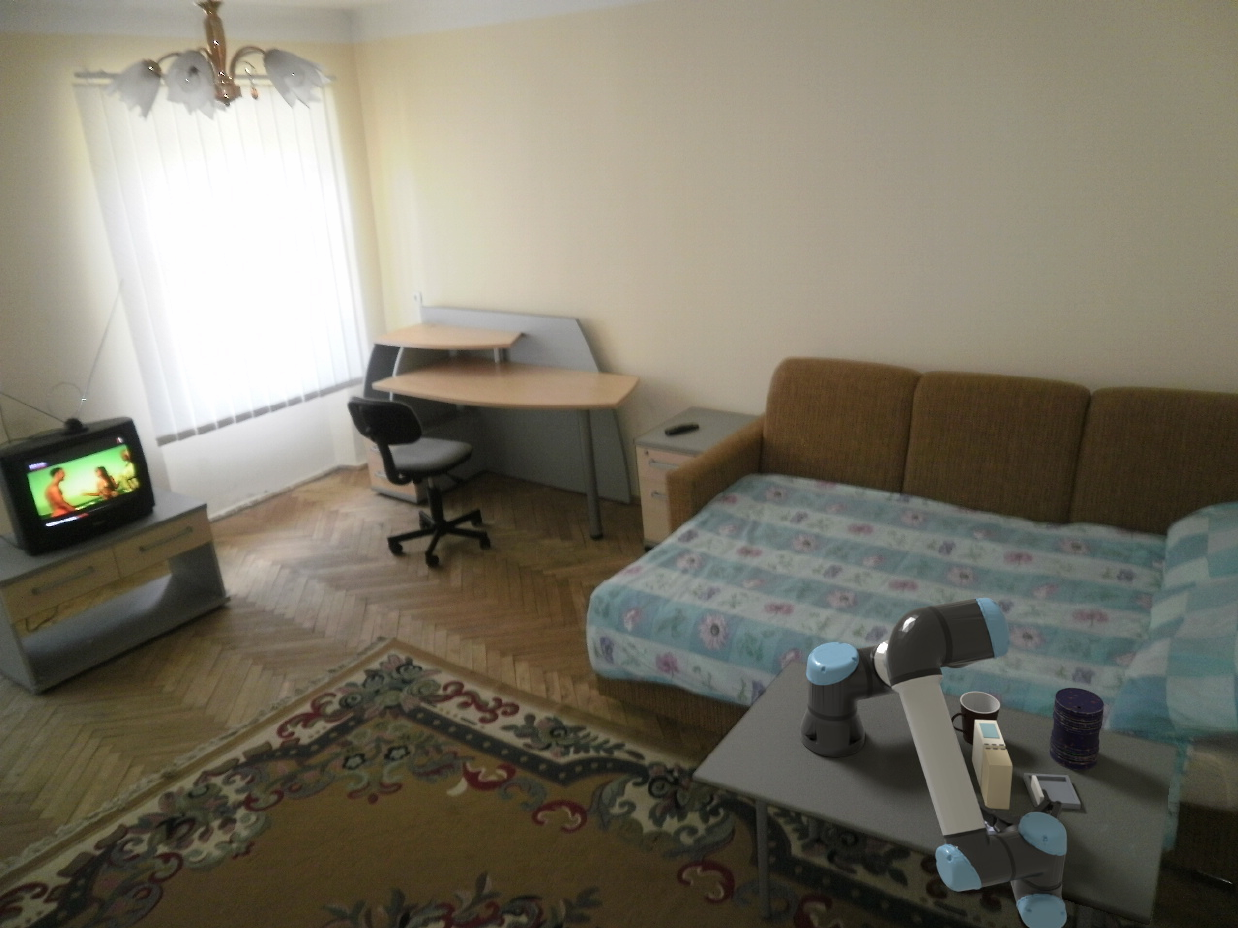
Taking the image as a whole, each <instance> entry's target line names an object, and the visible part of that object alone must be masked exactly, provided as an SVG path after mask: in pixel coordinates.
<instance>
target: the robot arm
mask: <svg viewBox="0 0 1238 928" xmlns="http://www.w3.org/2000/svg"><path fill="white" fill-rule="evenodd" d="M1010 646H1011V633H1010V628H1009V624H1008V621H1007V619H1006V616H1005V614H1004V612H1003V610H1002V608H1001V607H1000V606H999V605H998V603H997V602H996V601H995V600H993V599H992V598H989V597H974V598H971V599H966V600H960V601H953V602H947V603H943V604H937V605H936V604H935V605H931V606H925V607H924V606H922V607H917V608H914V609H912V610H909V611H908V612H906V613H905V614H903V615H902V616H901V617H900V618H899V619H898V621H897V622H896V623H895V625H894V626H893V628H892V630H891V633H890V635H889V638H888V639H886V640H884V641H882V642H880V643H879V644H875V645H871V646H870V645H869V646H864V647H858V648H855V647H854V645H852V644H850V643H846V642H842V643H840V642H839V641H831V642H826V643H822V644H821V645H818V646H817V647H815V648H814V649H812V651H811V652H810V653H809V656H807V657H808V658H807V665H806V670H805V675H806V708H805V712H804V715H803V717H802V719H801V722H800V724H799V737H800V741H801V743H802V744H803V745H804V746H805V747H806V749H808V750H809V751H811V752H813V753H816V754H818V755H820V756H821V755H822V756H825V757H834V758H838V757H839V758H841V757H847V756H850V755H853V754H856V753H857V752H859V751H860V750H861V749H862V748H863V747H864V746H863V745H864V744H865V737H866V736H865V729H864V725H863V722H862V720H861V717H860V714H859V711H858V705H859V704H858V701H860V700H861V701H862V700H866V699H871V698H877V697H883V696H890V695H894V694H898V695H899V698H900V701H901V705H902V708H903V711H904V714H905V717H906V721H907V724H908V726H909V730H910V733H911V737H912V740H913V743H914V746H915V750H916V753H917V755H918V759H919V762H920V766H921V769H922V772H923V775H924V778H925V781H926V785H927V788H928V790H929V795H930V797H931V798H930V799H931V802H932V804H933V808H934V810H935V813H936V817H937V821H938V824H939V827H940V830H941V833H942V837H943V839H944V844H942V845H940V846H938V847H937V848H936V851H935V859H936V863H935V864H936V869H937V872H938V873H939V876H940V878H941V881H942V882H943V883H944V884H945V885H946V887H947V888H949V889H950V890H952V891H953V892H954V891H955V892H963V891H970V890H975V891H976V890H980V889H981V888H984V887H989V886H993V885H998V884H1003V883H1007V882H1010V885H1011V887H1012V893H1013V896H1014V899H1015V902H1016V908H1017V910H1018V912H1019V914H1020V917H1021V920H1022V921H1023V923H1024V924H1025V925H1026V926H1027V927H1028V928H1063V927H1064V925H1065V924H1066V922H1067V920H1068V919H1067V917H1068V915H1067V910H1066V903H1065V902H1064V900H1063V897H1062V888H1063V880H1064V879H1063V875H1064V867H1065V861H1066V854H1067V851H1068V847H1067V846H1068V839H1067V838H1068V837H1067V834H1068V832H1067V830H1066V828H1065V826H1064V825H1063V823H1062V822H1061V821H1059V819H1060V816H1061V814H1062V813H1061V812H1062V808H1061V806H1062V803H1061V802H1060V801H1055V802H1053V801H1051V799H1049V796H1048V794H1047V791H1046V790H1045V789H1041V788H1040V785H1039V783H1038V780H1037V777H1036V776H1034V775H1032V780H1031V788H1032V790H1033V793H1034V796H1035V798H1036V801H1037V804H1038V806H1037V807H1035V808H1034V809H1032V811H1031V812H1028V813H1026V814H1025V815H1023V816H1022V815H1019V814H1017V815H1011V814H1004V815H1003V814H1002V813H1000V812H999V811H997V810H993V809H992V808H988V807H987V806H985V803H982V802H981V801H979V800H978V799H977V794H976V792H975V790H974V786H973V783H972V780H971V777H970V774H969V769H968V768H967V763H966V761H965V758H964V756H963V752H962V750H961V746H960V743H959V740H958V737H957V734H956V732H955V731H956V730H955V729H954V727H953V725H954V723H953V724H952V721H951V718H952V717H951V715H950V712H949V708H948V706H947V701H946V699H945V696H944V694H943V690H942V687H941V683H942V680H943V679H944V675H943V672H942V669H941V668H949V669H961V668H965V667H967V666H970V665H973V664H975V663H978V662H982V661H987V660H997V659H999V658H1002V657H1005V656H1006V655H1007V654H1008V653H1009V650H1010Z"/></svg>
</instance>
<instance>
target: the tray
mask: <svg viewBox="0 0 1238 928" xmlns="http://www.w3.org/2000/svg"><path fill="white" fill-rule="evenodd" d="M1032 775H1034V776H1036V777H1037V780H1038V783H1039V785H1040V788H1041V789H1045V790H1046V791H1047V794H1048V796H1049V799H1051V801H1053V802H1055V801H1060V802H1061V803H1062V806H1061V809H1069V810H1081V801H1080V799H1079V797H1078V795H1077V792H1076V790H1075V788H1074V786H1073V784H1072V781H1071V779H1070V776H1069V775H1067V774H1053V773H1050V774H1047V773H1028V772H1024V773H1023V782H1024V783H1025V786H1026V789H1027V792H1028V795H1029V796H1030V800H1031V803H1032V804H1033V807H1035V808H1036V807H1037V806H1038V804H1037V801H1036V798H1035V796H1034V793H1033V790H1032V788H1031V780H1032Z"/></svg>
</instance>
